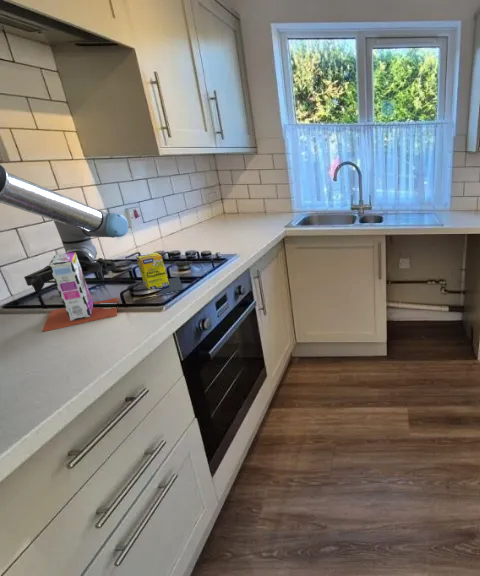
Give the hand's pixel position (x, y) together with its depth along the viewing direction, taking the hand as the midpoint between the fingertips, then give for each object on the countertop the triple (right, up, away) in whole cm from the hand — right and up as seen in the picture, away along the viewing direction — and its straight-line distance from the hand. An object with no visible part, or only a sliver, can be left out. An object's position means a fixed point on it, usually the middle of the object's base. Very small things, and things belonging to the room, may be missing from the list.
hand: (69, 281), depth 97 cm
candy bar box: (-1, -9, +6) cm, 11 cm away
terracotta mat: (-1, -9, +6) cm, 11 cm away
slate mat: (+10, -2, +23) cm, 25 cm away
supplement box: (+10, -2, +22) cm, 25 cm away
